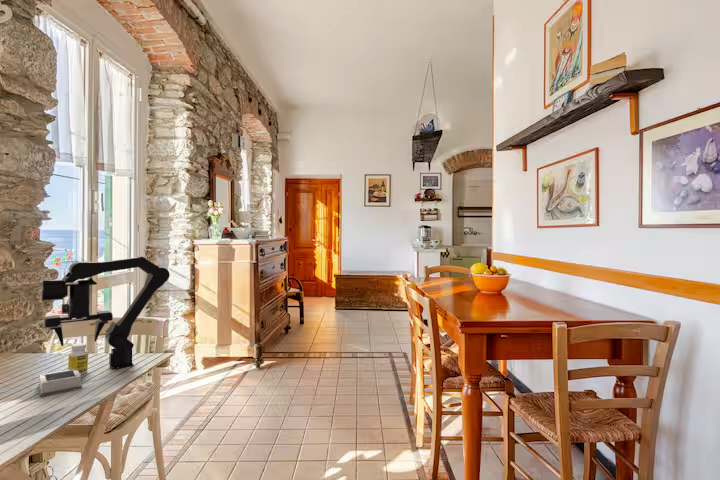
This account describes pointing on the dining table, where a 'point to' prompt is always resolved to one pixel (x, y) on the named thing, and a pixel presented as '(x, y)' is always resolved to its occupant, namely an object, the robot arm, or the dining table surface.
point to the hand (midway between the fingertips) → (79, 343)
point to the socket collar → (59, 382)
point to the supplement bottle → (78, 358)
